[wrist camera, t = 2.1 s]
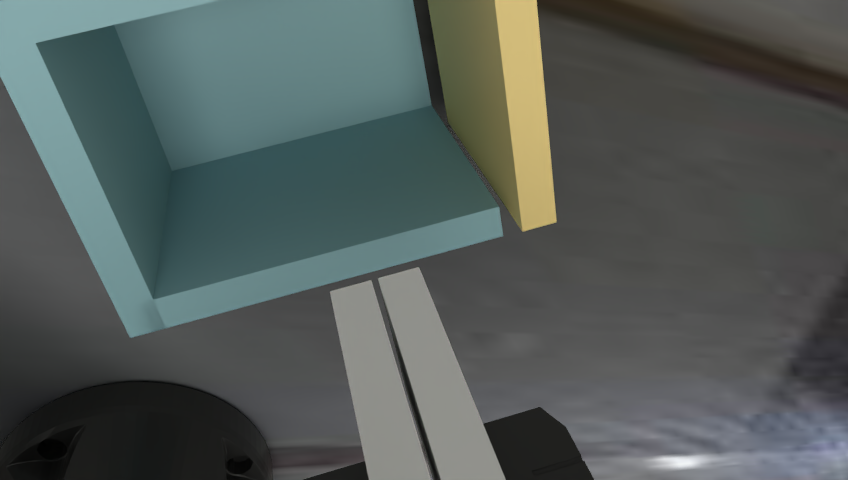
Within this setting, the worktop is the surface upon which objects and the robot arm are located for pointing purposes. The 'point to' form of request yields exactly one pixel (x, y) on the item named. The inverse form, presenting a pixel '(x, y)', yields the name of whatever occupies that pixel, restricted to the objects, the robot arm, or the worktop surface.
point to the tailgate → (498, 98)
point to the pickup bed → (238, 145)
